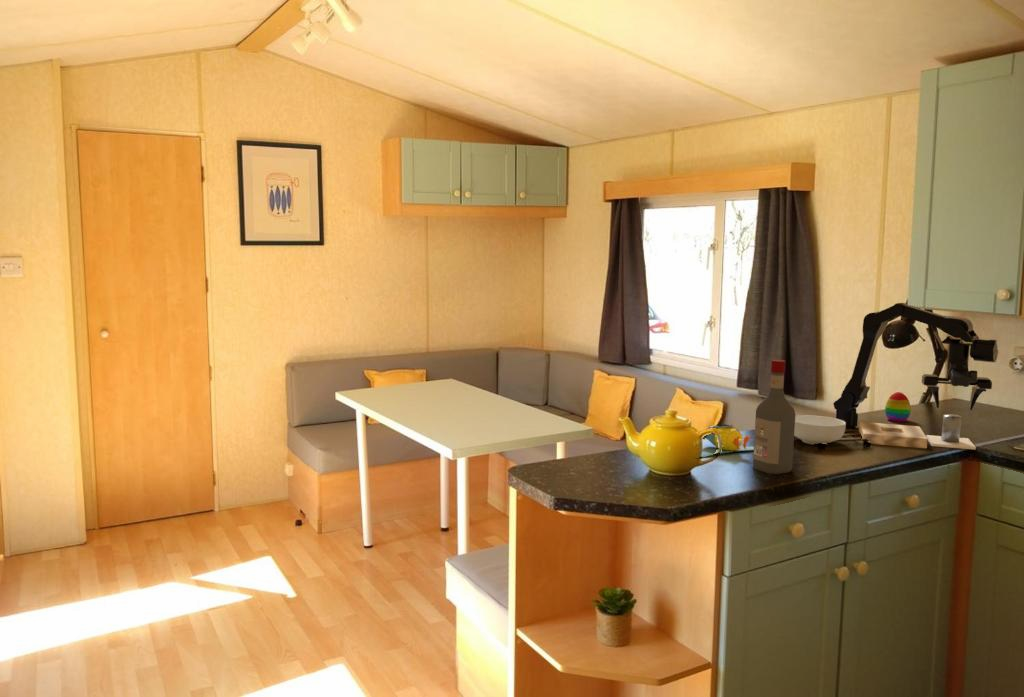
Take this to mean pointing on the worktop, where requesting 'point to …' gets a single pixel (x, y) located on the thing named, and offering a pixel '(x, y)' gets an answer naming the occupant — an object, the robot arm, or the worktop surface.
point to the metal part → (951, 428)
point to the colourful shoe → (727, 440)
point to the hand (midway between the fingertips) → (953, 408)
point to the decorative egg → (898, 407)
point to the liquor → (774, 427)
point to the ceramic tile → (962, 443)
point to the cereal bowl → (818, 429)
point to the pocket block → (893, 434)
